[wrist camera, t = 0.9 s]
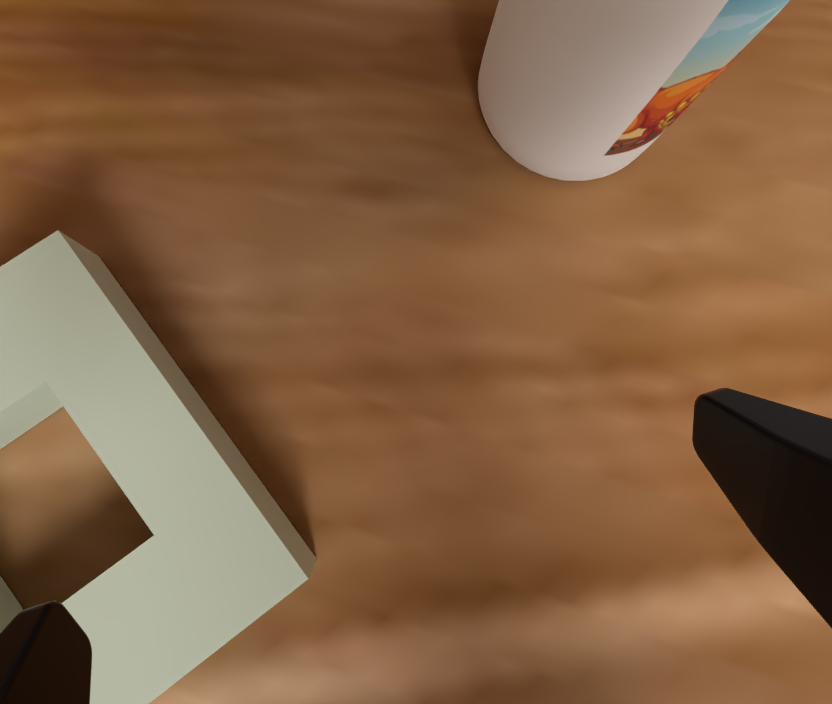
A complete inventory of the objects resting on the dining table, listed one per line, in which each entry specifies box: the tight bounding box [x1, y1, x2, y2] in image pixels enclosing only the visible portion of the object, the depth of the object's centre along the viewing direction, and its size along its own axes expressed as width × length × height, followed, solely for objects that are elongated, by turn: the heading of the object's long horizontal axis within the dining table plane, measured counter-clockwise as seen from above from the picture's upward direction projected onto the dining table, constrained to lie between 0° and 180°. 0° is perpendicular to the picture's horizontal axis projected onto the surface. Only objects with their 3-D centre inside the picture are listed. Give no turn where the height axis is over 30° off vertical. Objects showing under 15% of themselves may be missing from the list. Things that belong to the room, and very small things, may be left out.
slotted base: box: [0, 230, 317, 704], centre depth 20 cm, size 14×12×3 cm
